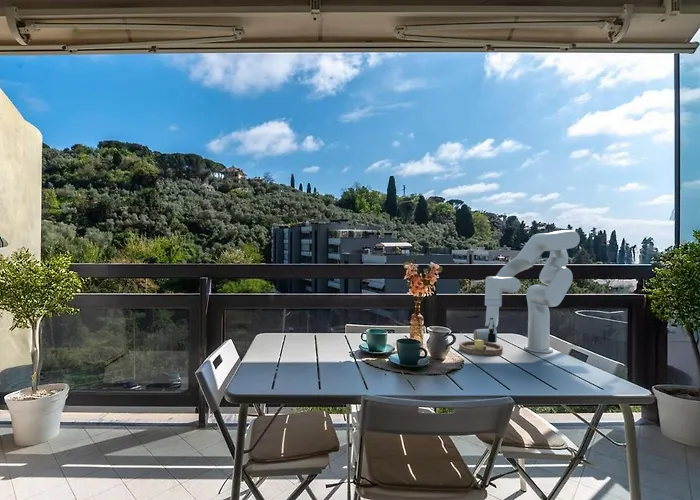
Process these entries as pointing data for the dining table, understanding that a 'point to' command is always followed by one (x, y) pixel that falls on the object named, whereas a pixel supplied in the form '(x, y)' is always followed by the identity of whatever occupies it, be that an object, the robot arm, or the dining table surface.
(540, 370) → the dining table surface
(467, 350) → the groove tray
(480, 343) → the ochre bead
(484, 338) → the ceramic mug
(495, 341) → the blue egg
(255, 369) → the dining table surface
